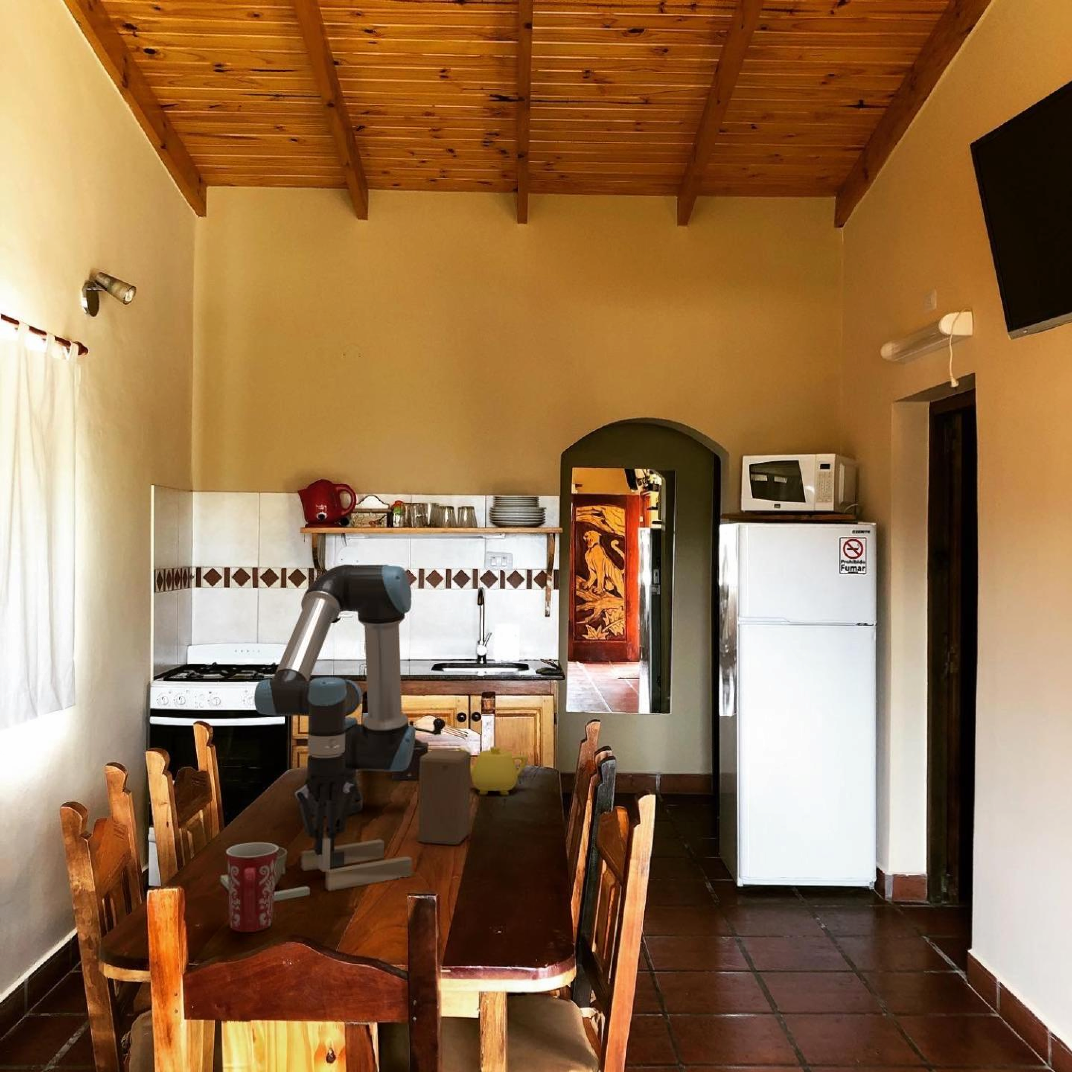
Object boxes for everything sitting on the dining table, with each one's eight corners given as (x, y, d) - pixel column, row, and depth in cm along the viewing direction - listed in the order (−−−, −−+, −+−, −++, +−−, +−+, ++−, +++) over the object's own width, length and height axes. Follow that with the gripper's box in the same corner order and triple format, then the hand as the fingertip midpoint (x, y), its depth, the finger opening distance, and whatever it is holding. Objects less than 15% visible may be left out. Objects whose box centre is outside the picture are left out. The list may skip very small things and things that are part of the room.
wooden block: (458, 846, 223) (460, 758, 223) (416, 843, 225) (418, 756, 225) (470, 834, 233) (471, 750, 233) (430, 831, 235) (431, 747, 235)
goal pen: (220, 881, 197) (220, 875, 197) (282, 871, 204) (282, 865, 204) (244, 906, 183) (244, 900, 183) (309, 894, 190) (309, 888, 190)
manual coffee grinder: (391, 780, 286) (392, 719, 286) (393, 772, 297) (394, 713, 297) (444, 780, 287) (445, 719, 287) (445, 772, 298) (446, 713, 298)
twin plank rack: (301, 868, 206) (301, 851, 206) (380, 855, 216) (380, 839, 216) (329, 891, 193) (329, 873, 193) (411, 875, 202) (412, 858, 202)
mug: (227, 916, 178) (229, 842, 179) (278, 914, 180) (280, 840, 180) (218, 944, 166) (219, 864, 166) (273, 941, 168) (274, 862, 168)
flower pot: (296, 884, 196) (297, 849, 196) (265, 901, 187) (266, 863, 187) (255, 878, 200) (255, 842, 200) (222, 893, 190) (223, 856, 190)
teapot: (458, 784, 282) (459, 741, 283) (527, 786, 282) (528, 743, 282) (454, 796, 269) (454, 751, 269) (526, 797, 269) (527, 752, 269)
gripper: (301, 760, 194) (299, 880, 194) (363, 754, 201) (360, 869, 201) (289, 753, 201) (287, 869, 200) (349, 747, 208) (347, 859, 207)
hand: (324, 869), depth 201 cm, fingers closed
